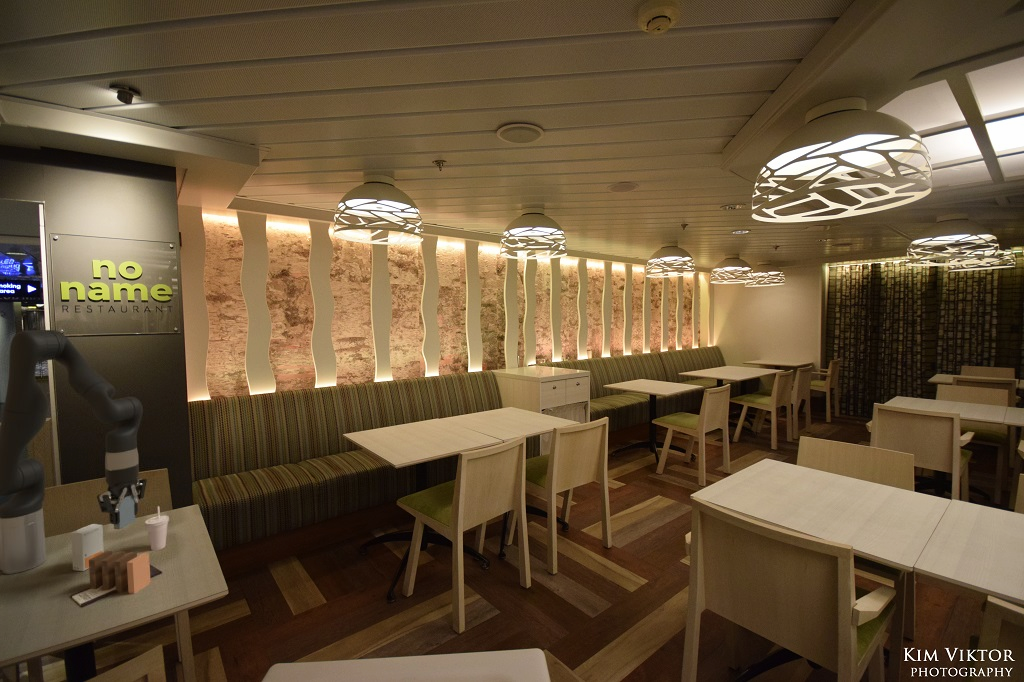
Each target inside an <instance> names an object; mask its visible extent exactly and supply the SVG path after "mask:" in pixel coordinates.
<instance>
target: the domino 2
mask: <svg viewBox="0 0 1024 682" xmlns="http://www.w3.org/2000/svg"><path fill="white" fill-rule="evenodd" d="M113 501H118V499H113ZM134 504H135V502H134V499H133V497H132V494H131V496H127V497H125V498H124V499H123V503H122V504H121V505H120V508H119V511H120V523H118V524H113V529H114V530H122V529H124V528H126V527H127V526H129V525H131V524H133V523H135V522H136V515H135V512H134ZM113 508H115V504H113Z"/></svg>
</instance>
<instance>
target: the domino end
mask: <svg viewBox="0 0 1024 682" xmlns="http://www.w3.org/2000/svg"><path fill="white" fill-rule="evenodd" d="M150 565H151V564H150V553H149V552H142V553H141V554H139V555H137V557H135V558H134V559H132V560H130V561H129V562H127V574H128V589H127V590H128V594H130V595H131V594H136V593H139V592H140V591H141V590H142V589H144V588H146V587H147V586H149V585H150V584H151V583H152V582H151V578H150Z"/></svg>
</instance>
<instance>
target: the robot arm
mask: <svg viewBox="0 0 1024 682" xmlns="http://www.w3.org/2000/svg"><path fill="white" fill-rule="evenodd" d="M8 359H9V360H8V366H9V368H8V381H7V387H6V394H5V401H4V405H3V409H2V415H1V419H0V420H1V421H0V497H4V496H9V495H13V496H11V497H10V499H8V500H7V501H6V502H4V503H3V504H2V505H0V571H2V573H3V574H5V575H6V574H7V575H8V574H9V575H10V574H18V573H23V572H26V571H29V570H31V569H34V568H37V567H38V566H40V565H42V564H43V563H45V562H46V561H47V555H46V541H45V540H46V538H45V524H44V523H45V522H44V510H43V503H44V500H45V495H46V493H45V492H46V486H45V485H46V473H45V468H44V466H43V464H42V462H41V461H40V460H39V459H37V458H34V457H27V458H24V459H21V457H22V454H23V452H24V450H25V449H26V447H28V445H29V444H30V443H31V441H32V440H33V439H35V437H36V436H37V435H38V434H39V433H40V431H41V430H42V428H43V427H44V425H45V423H46V421H47V417H48V412H49V406H50V401H49V398H48V396H47V395H46V393H45V392H44V390H43V389H42V388H41V386H40V384H39V383H38V381H37V379H36V370H37V368H36V367H37V363H38V362H42V361H52V360H54V361H56V362H58V363H59V364H61V366H64V367H65V369H66V371H67V380H68V384H69V386H70V387H71V390H73V391H74V392H75V393H76V394H78V395H79V396H80V397H82V399H84V400H85V401H86V402H87V403H88V405H89V407H90V409H91V410H92V412H93V414H94V415H95V416H94V417H96V419H97V420H98V421H100V422H101V423H103V424H106V425H115V424H117V426H116V428H114V429H113V430H111V431H109V432H107V434H105V457H104V467H105V468H104V469H105V482H106V484H107V485H108V487H107V490H106V491H105V492H104V493H102V494H98V495H97V496H96V499H97V503H98V505H99V508H100V511H101V513H102V514H103V513H106V514H107V513H108V514H109V523H110V524H111V525H114V524H118V523H120V511H119V508H120V505H121V504H122V503H123V499H124V498H125V497H127V496H131V494H132V497H133V499H134V502H135V504H134V512H135V516H137V515H138V512H139V511H138V510H139V508H138V503H139V502H140V500H142V499H144V497H145V492H146V487H147V478H140V470H139V467H140V466H139V452H138V451H139V450H138V443H137V442H138V441H137V439H138V437H137V436H138V435H137V434H138V430H139V428H140V425H141V421H142V418H143V417H142V416H143V412H144V409H143V404H142V402H141V401H140V399H138V398H137V397H134V396H124V397H120V398H116V399H112V398H113V397H114V396H115V394H116V389H115V387H114V385H112V383H110V382H109V381H107V380H106V379H105V378H104V377H103V376H101V375H100V374H99V373H98V372H97V371H96V370H95V369H94V368H93V367H92V366H91V365H90V364H89V363H88V362H87V360H86V359H85V358H84V356H83V354H81V352H79V350H78V349H77V348H76V347H75V345H74V344H73V343H72V342H71V340H70V339H69V338H68V337H67V336H66V335H65V334H64V333H62V332H61V331H59V330H55V329H40V330H39V329H36V330H34V329H33V330H32V329H31V330H22V331H19V332H16V333H15V334H14V335H13V337H12V339H11V342H10V346H9V358H8ZM113 499H118V501H113ZM113 504H115V508H113Z"/></svg>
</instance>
